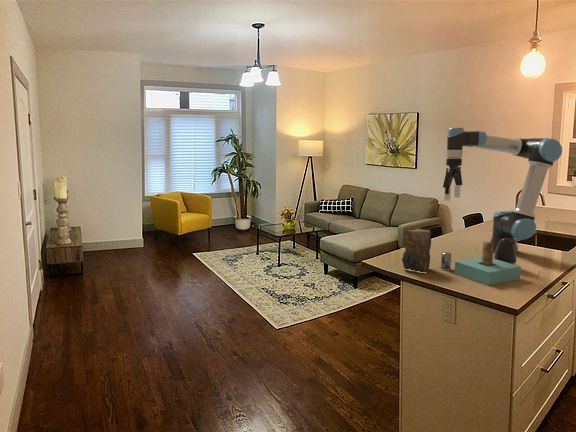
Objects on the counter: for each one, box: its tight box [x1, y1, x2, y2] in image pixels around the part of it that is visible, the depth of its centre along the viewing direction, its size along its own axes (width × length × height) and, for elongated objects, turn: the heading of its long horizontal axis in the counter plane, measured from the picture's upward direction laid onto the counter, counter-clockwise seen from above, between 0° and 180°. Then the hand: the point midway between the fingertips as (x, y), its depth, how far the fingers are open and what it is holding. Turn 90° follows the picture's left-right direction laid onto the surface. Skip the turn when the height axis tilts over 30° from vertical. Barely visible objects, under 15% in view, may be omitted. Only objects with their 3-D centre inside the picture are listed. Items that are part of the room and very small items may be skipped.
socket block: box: [454, 256, 522, 286], centre depth 213 cm, size 20×20×6 cm
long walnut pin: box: [481, 241, 494, 266], centre depth 212 cm, size 4×4×16 cm
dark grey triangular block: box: [493, 238, 517, 265], centre depth 225 cm, size 10×10×15 cm
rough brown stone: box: [401, 228, 432, 273], centre depth 224 cm, size 13×13×20 cm
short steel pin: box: [440, 251, 452, 270], centre depth 225 cm, size 4×4×8 cm
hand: (452, 199), depth 237 cm, fingers open, 13 cm apart
